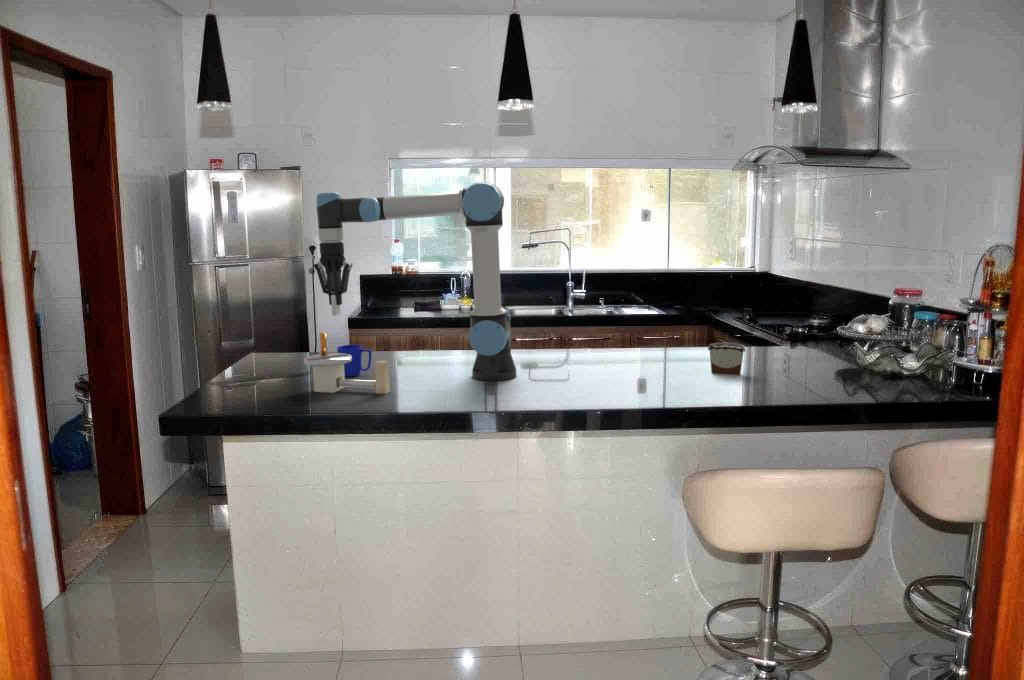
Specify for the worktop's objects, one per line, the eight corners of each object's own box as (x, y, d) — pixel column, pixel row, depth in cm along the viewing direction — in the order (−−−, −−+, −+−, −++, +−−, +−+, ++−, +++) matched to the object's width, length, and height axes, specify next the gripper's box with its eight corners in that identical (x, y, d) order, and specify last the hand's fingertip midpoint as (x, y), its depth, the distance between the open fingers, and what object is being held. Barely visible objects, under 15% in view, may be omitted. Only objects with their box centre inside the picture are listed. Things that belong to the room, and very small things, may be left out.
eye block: (345, 387, 255) (343, 360, 254) (333, 392, 248) (332, 365, 247) (326, 386, 257) (324, 359, 256) (314, 391, 250) (312, 364, 249)
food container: (747, 372, 266) (748, 343, 264) (744, 376, 260) (745, 346, 258) (710, 369, 271) (711, 341, 269) (707, 373, 265) (707, 344, 263)
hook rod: (390, 391, 248) (388, 360, 246) (385, 394, 245) (383, 362, 243) (320, 387, 256) (318, 357, 254) (314, 389, 253) (312, 359, 251)
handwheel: (341, 354, 261) (340, 330, 260) (359, 361, 249) (357, 336, 248) (297, 360, 253) (295, 335, 252) (313, 368, 241) (312, 342, 239)
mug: (367, 378, 268) (366, 349, 266) (334, 377, 270) (333, 348, 269) (376, 373, 276) (375, 345, 274) (344, 372, 278) (342, 344, 276)
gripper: (355, 240, 251) (360, 313, 255) (319, 241, 255) (324, 313, 259) (343, 242, 244) (348, 317, 248) (307, 242, 248) (312, 316, 252)
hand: (336, 314), depth 254 cm, fingers closed
